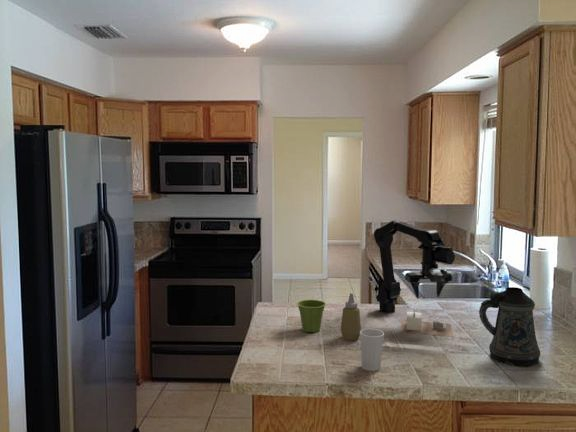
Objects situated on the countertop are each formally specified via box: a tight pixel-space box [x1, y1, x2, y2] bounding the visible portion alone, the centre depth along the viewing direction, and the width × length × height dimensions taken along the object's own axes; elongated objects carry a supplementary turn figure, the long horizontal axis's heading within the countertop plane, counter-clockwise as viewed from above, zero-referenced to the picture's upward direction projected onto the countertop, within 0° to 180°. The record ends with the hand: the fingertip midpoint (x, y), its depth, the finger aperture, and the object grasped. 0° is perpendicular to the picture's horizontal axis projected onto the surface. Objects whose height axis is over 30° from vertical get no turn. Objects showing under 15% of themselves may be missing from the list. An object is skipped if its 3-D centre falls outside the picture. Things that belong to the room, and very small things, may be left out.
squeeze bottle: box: [340, 292, 362, 342], centre depth 195 cm, size 8×8×18 cm
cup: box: [359, 328, 385, 372], centre depth 168 cm, size 8×8×12 cm
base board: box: [400, 319, 454, 338], centre depth 204 cm, size 20×16×2 cm
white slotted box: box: [406, 311, 423, 330], centre depth 205 cm, size 6×8×5 cm
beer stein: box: [478, 286, 541, 368], centre depth 175 cm, size 16×19×25 cm
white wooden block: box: [432, 319, 447, 331], centre depth 203 cm, size 2×4×3 cm, turn 46°
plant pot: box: [296, 299, 327, 333], centre depth 205 cm, size 12×12×11 cm
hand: (427, 297), depth 209 cm, fingers open, 9 cm apart
